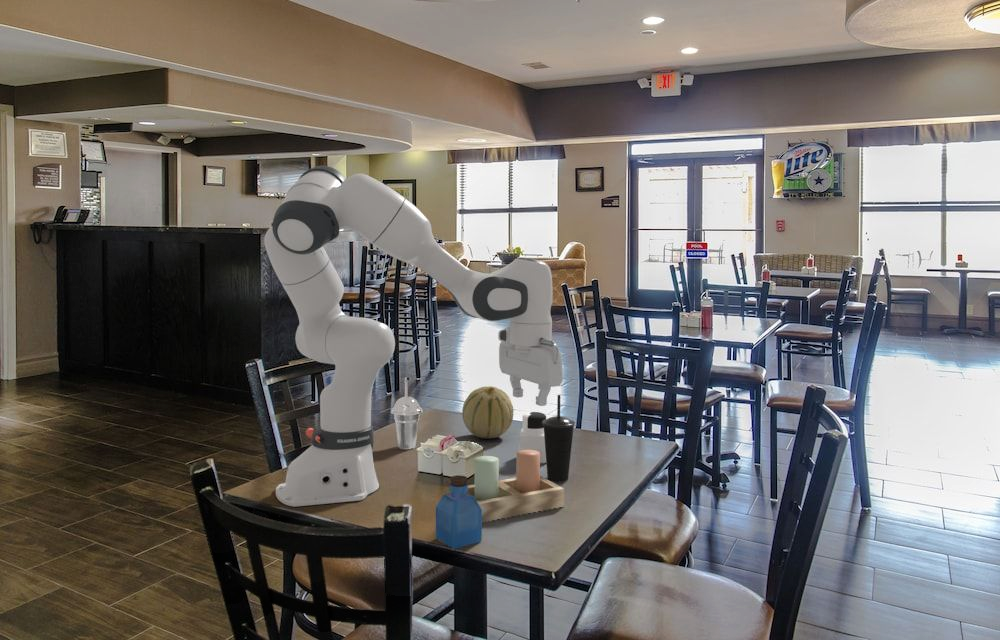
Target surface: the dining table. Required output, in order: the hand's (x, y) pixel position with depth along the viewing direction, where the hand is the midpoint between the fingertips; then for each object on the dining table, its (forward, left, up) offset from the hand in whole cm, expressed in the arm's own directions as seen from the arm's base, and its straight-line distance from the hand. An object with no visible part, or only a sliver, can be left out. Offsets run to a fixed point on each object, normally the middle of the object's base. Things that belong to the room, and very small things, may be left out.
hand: (529, 400), depth 159 cm
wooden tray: (-5, 0, -22) cm, 23 cm away
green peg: (-10, 0, -22) cm, 24 cm away
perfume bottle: (-22, -11, -22) cm, 33 cm away
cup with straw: (-8, +52, -22) cm, 57 cm away
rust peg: (0, 0, -22) cm, 22 cm away
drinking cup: (+14, +11, -22) cm, 29 cm away
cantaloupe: (+16, +51, -22) cm, 58 cm away
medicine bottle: (+17, +27, -22) cm, 39 cm away
